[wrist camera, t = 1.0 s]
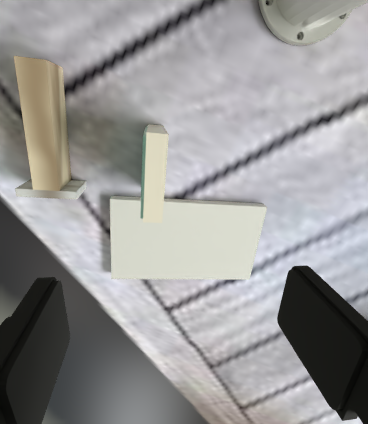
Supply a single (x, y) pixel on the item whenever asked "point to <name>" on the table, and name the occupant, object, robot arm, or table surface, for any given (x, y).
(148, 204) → the tile
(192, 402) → the table surface
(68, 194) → the beige upright post
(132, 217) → the white rectangular board
